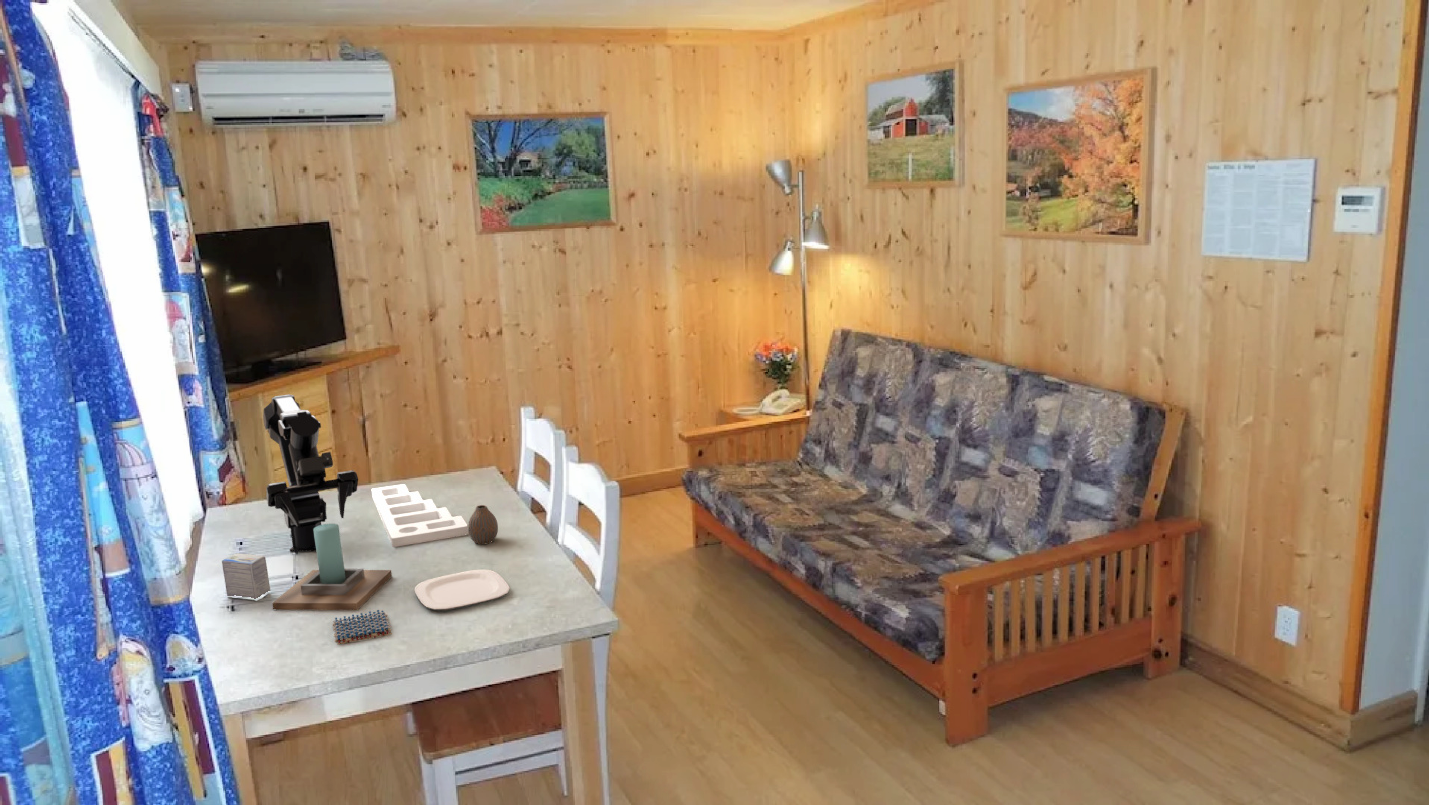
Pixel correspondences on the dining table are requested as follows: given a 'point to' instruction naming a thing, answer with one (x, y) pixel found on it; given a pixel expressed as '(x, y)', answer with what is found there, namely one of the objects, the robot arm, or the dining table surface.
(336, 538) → the pin
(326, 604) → the board
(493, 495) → the dining table surface
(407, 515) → the holder
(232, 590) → the medicine box
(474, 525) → the vase
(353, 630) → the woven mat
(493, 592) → the plate
